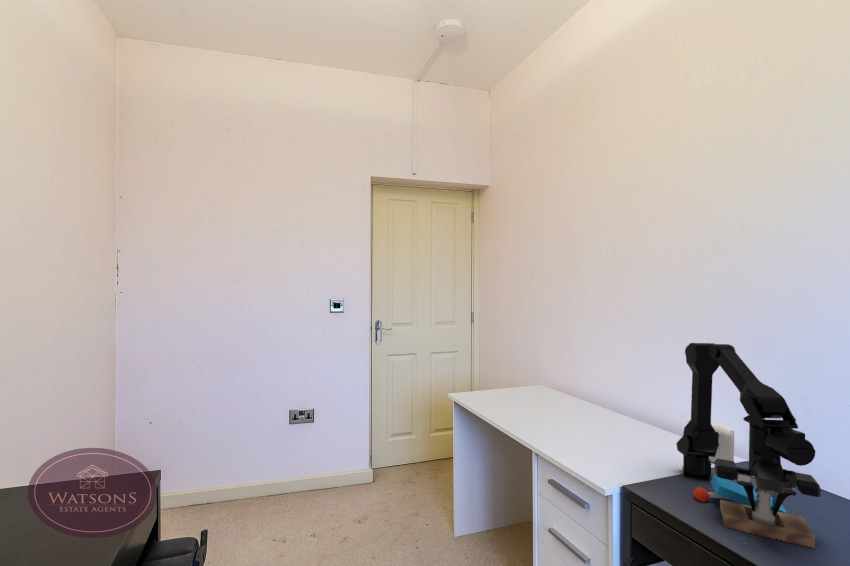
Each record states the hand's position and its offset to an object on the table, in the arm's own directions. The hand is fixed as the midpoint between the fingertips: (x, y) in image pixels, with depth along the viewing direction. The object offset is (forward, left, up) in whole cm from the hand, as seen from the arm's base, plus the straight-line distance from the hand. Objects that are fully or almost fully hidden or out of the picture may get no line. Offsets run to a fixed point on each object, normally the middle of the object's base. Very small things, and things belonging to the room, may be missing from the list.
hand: (763, 512), depth 99 cm
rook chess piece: (0, 0, -3) cm, 2 cm away
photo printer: (-6, +38, -4) cm, 39 cm away
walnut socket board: (0, 0, -3) cm, 3 cm away
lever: (-4, +8, -4) cm, 10 cm away
